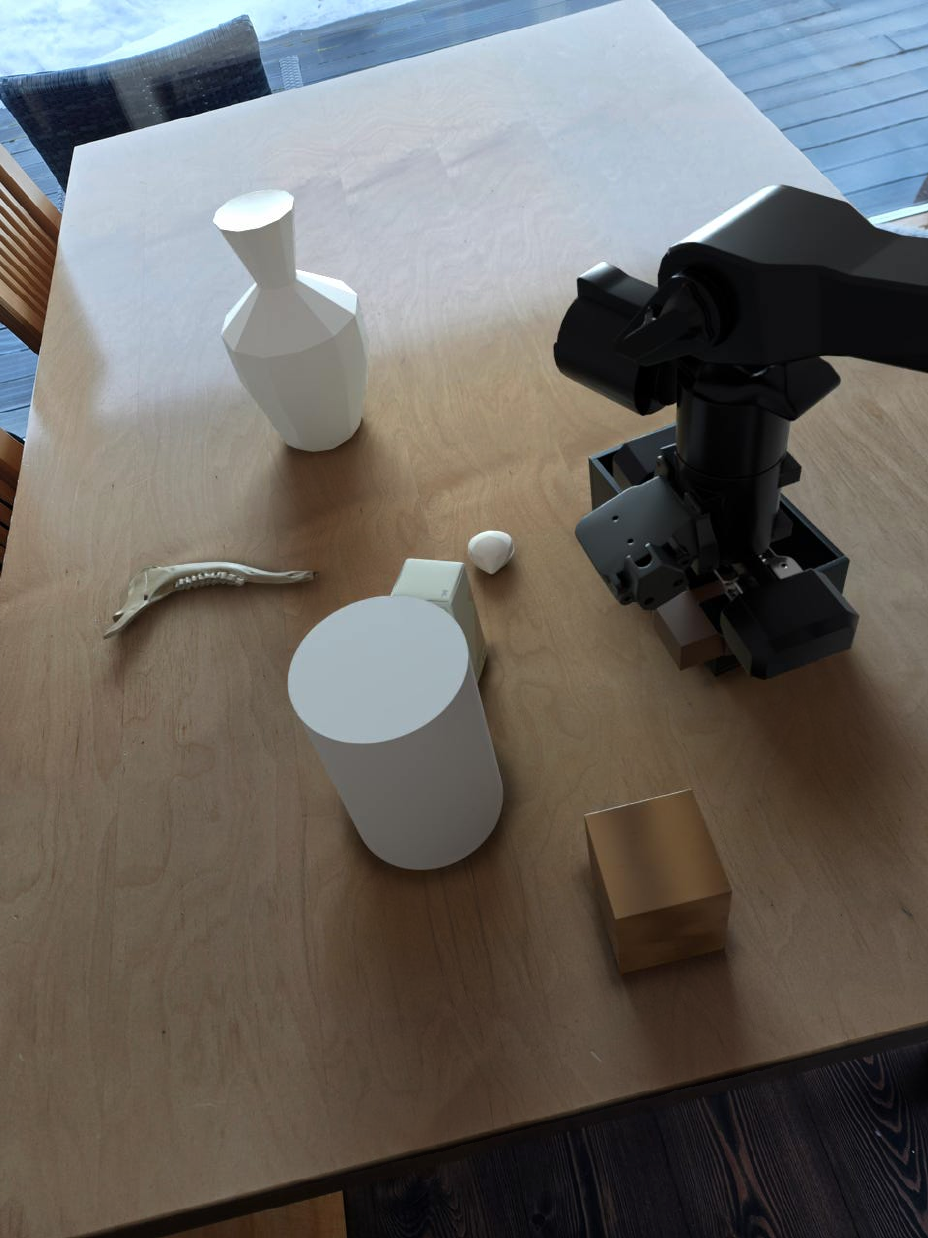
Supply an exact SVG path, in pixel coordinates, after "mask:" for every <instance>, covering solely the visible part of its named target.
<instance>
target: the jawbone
mask: <svg viewBox="0 0 928 1238" xmlns="http://www.w3.org/2000/svg"><path fill="white" fill-rule="evenodd" d="M319 573H320V572H319V571H318V570H292V571H284V572H272V571H267V570H261V569H258V568H256V567H252V566H248V565H245V564H244V565H243V564H240V563H235V562H227V561H206V562H205V561H204V562H194V563H193V562H192V563H191V562H190V563H184V564H176V565H175V564H174V565H170V566H165V567H160V566H157V565H151V566H148V567H143V568H142V569H141V570H139V571H138V572H137V573H136V574H135V575H134V576H133V577H132V578H131V580H130V582H129V584H128V588H127V592H126V593H127V594H126V600H125V603H124V605H123V607H122V608H121V609H120V610H119V611H117V612H116V613H114V614H113V615H112V620H113V622H114V624H113V625H112V626H110V627H109V628H107V630H105V634H103V636H102V639H103V640H109V639H111V638H113V637H114V636H116V635H118V634H119V633H120V632H122V631H123V630H124V629H125V628H126V627H128V626H129V624H131V623H132V621H134V619H136V618H137V617H138V616H139V615H140V614H141V613H142V612H144V610H146V609H147V608H148V607H150V606H152V605H154V604H156V603H157V602H158V601H161V600H164V599H165V597H167V596H169V595H170V594H172V593H174V592H177V591H184V590H185V589H186V590H190V588H191V587H192V588H194V589H196V588H197V587H198V586H199V587H200V588H202V587H203V586H209V585H211V586H214V585H216V584H221V585H224V584H226V585H229V586H232V585H235V586H237V587H240V586H241V587H242V586H243V585H244V584H245V583H256V584H269V585H270V584H272V585H273V584H290V583H299V584H300V583H304V582H311V581H314V580H315V579H316V576H317V575H319Z"/></svg>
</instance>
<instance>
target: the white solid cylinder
mask: <svg viewBox="0 0 928 1238" xmlns="http://www.w3.org/2000/svg"><path fill="white" fill-rule="evenodd" d="M287 690H288V696H289V700H290V703H291V706H292V707H293V709H294V712H295V713H296V715H297V717H298V719H299V721H300V724H301V725H302V727H303V728H304V730H305V732H306V734H307V736H308V738H309V740H310V742H311V744H312V746H313V748H314V750H315V751H316V753H317V755H318V757H319V759H320V761H321V763H322V765H323V767H324V769H325V771H326V772H327V775H328V776H329V778H330V780H331V782H332V784H333V787H334V788H335V790H336V792H337V794H338V796H339V797H340V799H341V801H342V803H343V805H344V807H345V809H346V811H347V813H348V815H349V817H350V819H351V820H352V823H353V824H354V826H355V828H356V830H357V832H358V834H359V836H360V839H361V840H362V841H363V843H364V844H365V845H366V847H367V848H368V849H369V850H370V851H371V852H372V853H373V854H374V855H375V856H376V857H378V858H379V859H380V860H382V861H383V862H386V863H387V864H390V865H393V866H394V867H395V866H396V867H397V868H402V869H407V870H413V871H415V870H416V871H425V870H434V869H439V868H440V869H441V868H443V867H447V866H450V865H452V864H455V863H457V862H460V861H461V860H462V859H465V858H466V857H467V856H469V855H471V854H472V853H473V852H475V851H476V850H477V849H478V848H479V847H480V846H481V845H482V844H484V842H485V841H486V840H487V839H488V837H489V836H490V835H491V833H492V832H493V830H494V829H495V827H496V826H497V823H498V820H499V818H500V816H501V812H502V808H503V803H504V788H503V782H502V778H501V774H500V769H499V766H498V761H497V757H496V754H495V750H494V745H493V741H492V737H491V734H490V730H489V726H488V722H487V717H486V714H485V710H484V707H483V701H482V698H481V694H480V690H479V686H478V683H477V682H476V678H475V674H474V670H473V666H472V662H471V658H470V654H469V650H468V646H467V642H466V639H465V636H464V634H463V631H462V630H461V628H460V626H459V625H458V623H457V622H456V621H455V620H454V618H453V617H452V616H451V615H449V614H448V613H447V612H446V611H445V610H443V609H442V608H440V607H438V606H437V605H435V604H433V603H430V602H428V601H425V600H422V599H419V598H414V597H408V596H390V595H380V596H373V597H370V598H365V599H361V600H358V601H355V602H353V603H350V604H347V605H346V606H344V607H341V608H339V609H337V610H336V611H334V612H332V613H330V614H329V615H327V616H326V617H325V618H324V619H322V620H321V621H319V622H318V623H317V624H316V625H315V626H314V627H313V628H312V629H311V630H310V631H309V632H308V633H307V635H306V636H305V637H304V638H303V640H302V641H300V644H299V645H298V647H297V649H296V650H295V652H294V655H293V657H292V659H291V661H290V665H289V668H288V675H287Z"/></svg>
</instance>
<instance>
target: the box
mask: <svg viewBox="0 0 928 1238" xmlns="http://www.w3.org/2000/svg"><path fill="white" fill-rule="evenodd" d="M389 596H408V597H414V598H419V599H422V600H425V601H428V602H430V603H433V604H435V605H437V606H438V607H440V608H442V609H443V610H445V611H446V612H447V613H448V614H449V615H451V616H452V617H453V618H454V620H455V621H456V622H457V623H458V625H459V626H460V628H461V630H462V631H463V634H464V636H465V639H466V642H467V646H468V650H469V654H470V658H471V662H472V666H473V670H474V674H475V678H476V682H477V684H478V683H479V681H480V678H481V675H482V672H483V669H484V666H485V662H486V658H487V655H488V652H489V651H488V646H487V643H486V639H485V635H484V631H483V628H482V624H481V620H480V616H479V612H478V609H477V604H476V601H475V598H474V594H473V589H472V586H471V582H470V579H469V574H468V572H467V568H466V564H465V562H459V561H458V562H457V561H447V560H437V559H436V560H435V559H420V558H407V559H406V560H405V562H404V564H403V566H402V568H401V571H400V572H399V575H398V577H397V579H396V581H395V584H394V585H393V588H392V591H391V593H390V595H389Z"/></svg>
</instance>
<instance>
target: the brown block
mask: <svg viewBox="0 0 928 1238" xmlns="http://www.w3.org/2000/svg"><path fill="white" fill-rule="evenodd" d="M728 589H733V587H732V586H731V585H730V586H725V585H724V584H722V582H721V581H720V579H719V580H716V581H714V582H711V583H708V584H705V585H702V586H700V587H697V588H694V589H691V590H689V591H686V592H683V593H681V594H679V595H678V596H676V597H675V598H673V599H671V600H670V601H668V602H666V603H665V604H663V605H662V606H660V607H658V608H657V609H655V610H652V628H653V630H654V632H655V634H656V635H657V637H658V638H659V640H660V642H661V643H662V645H663V646H664V648H665V649H666V652H668V654H669V655H670V657H671V659H672V661H673V662H674V664H675V666H676V667H677V668H678V670H679V671H680V672H681V671H684V670H687V669H689V668H692V667H695V666H697V665H700V664H704V662H706V661H708V660H711V659H714V658H717V657H719V656H722V655H725V653H724V652H723V648H722V643H721V636H720V634H718V633H717V631H716V630H715V629H714V627H713V626H712V624H711V623H710V621H709V620H708V618H707V617H706V615H705V614H704V613H703V611H702V610H701V608H700V607H699V605H698V603H699V602H702V601H704V600H707V599H710V598H713V597H715V596H718V595H721V594H724V593H726V590H728Z"/></svg>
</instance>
